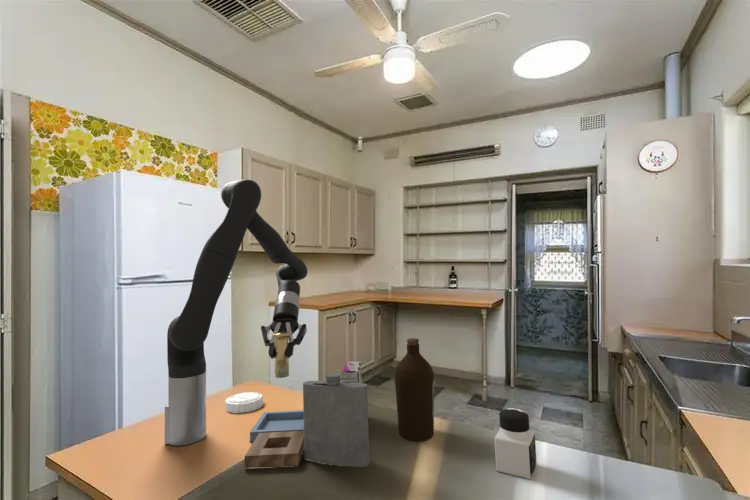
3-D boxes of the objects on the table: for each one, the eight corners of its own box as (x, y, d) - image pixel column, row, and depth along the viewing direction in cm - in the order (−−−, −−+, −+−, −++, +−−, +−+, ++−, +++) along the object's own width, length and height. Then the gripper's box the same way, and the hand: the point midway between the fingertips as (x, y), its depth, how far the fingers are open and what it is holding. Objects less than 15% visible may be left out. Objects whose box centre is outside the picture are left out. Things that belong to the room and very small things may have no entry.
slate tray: (250, 441, 96) (250, 432, 96) (264, 420, 110) (264, 412, 110) (303, 439, 97) (303, 429, 97) (311, 418, 111) (310, 409, 111)
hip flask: (370, 460, 85) (368, 372, 86) (365, 469, 81) (363, 377, 82) (307, 453, 89) (306, 369, 90) (300, 462, 85) (298, 374, 86)
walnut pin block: (244, 469, 82) (244, 456, 82) (259, 444, 94) (259, 432, 94) (298, 467, 83) (298, 453, 83) (306, 442, 95) (306, 430, 95)
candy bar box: (346, 415, 112) (345, 361, 113) (363, 415, 112) (361, 360, 113) (342, 431, 101) (341, 371, 102) (361, 431, 100) (359, 370, 101)
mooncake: (270, 403, 126) (270, 392, 126) (246, 416, 115) (246, 404, 115) (242, 399, 130) (242, 389, 131) (216, 412, 119) (216, 400, 119)
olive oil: (403, 445, 91) (399, 344, 93) (391, 428, 102) (388, 337, 103) (442, 439, 94) (438, 341, 95) (428, 423, 104) (424, 334, 106)
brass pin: (271, 378, 102) (270, 335, 102) (275, 373, 107) (274, 332, 107) (288, 377, 102) (287, 334, 103) (292, 373, 107) (291, 331, 107)
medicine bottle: (531, 480, 75) (528, 420, 75) (495, 471, 78) (492, 414, 79) (536, 464, 81) (533, 408, 81) (503, 456, 84) (500, 403, 85)
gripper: (261, 302, 112) (251, 350, 100) (308, 300, 113) (304, 347, 101) (265, 317, 117) (257, 365, 105) (310, 315, 118) (307, 362, 106)
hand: (280, 356), depth 103 cm, fingers closed on brass pin, 4 cm apart
